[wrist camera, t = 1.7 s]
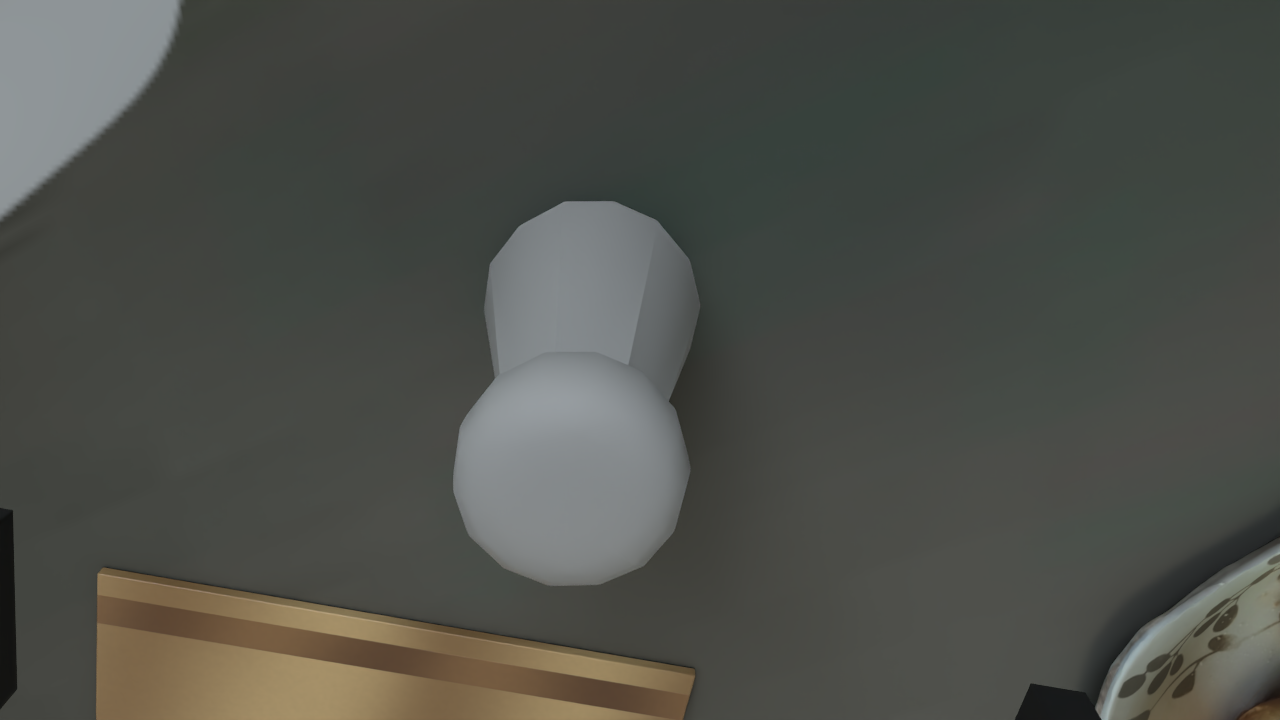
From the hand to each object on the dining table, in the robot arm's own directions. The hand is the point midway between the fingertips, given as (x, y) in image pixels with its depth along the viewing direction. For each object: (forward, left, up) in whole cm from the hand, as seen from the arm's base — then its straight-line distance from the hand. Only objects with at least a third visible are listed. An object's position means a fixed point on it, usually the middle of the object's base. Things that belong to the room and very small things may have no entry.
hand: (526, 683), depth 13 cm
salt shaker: (0, 0, -18) cm, 18 cm away
